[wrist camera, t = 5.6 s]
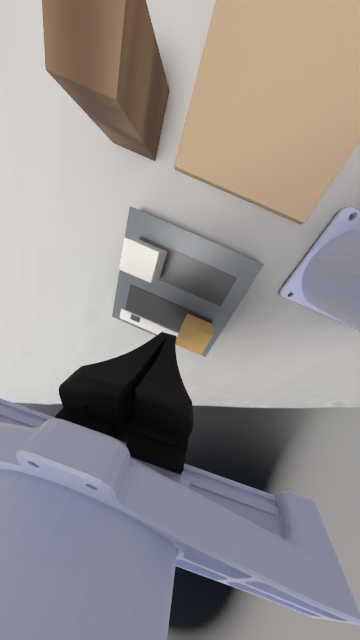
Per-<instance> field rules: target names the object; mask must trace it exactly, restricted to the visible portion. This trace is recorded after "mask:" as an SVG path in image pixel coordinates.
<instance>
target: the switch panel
mask: <svg viewBox="0 0 360 640" xmlns="http://www.w3.org/2000/svg"><path fill="white" fill-rule="evenodd" d="M125 237H127V238H135V239H139V240H142V241H144V242H146V243H149V244H151V245H153V246H156V247H158V248H160V249H163V250H165V251H167V255H166V259H165V262H164V265H163V268H162V272H161V275H160V278H159V279H157V280H155V281H153V282H152V283H150V282H147V281H145V280H143V279H140V278H138V277H136V276H133V275H131V274H129V273H126V272H124V271H122V270H120V272H119V278H118V284H117V290H116V297H115V303H114V309H113V315H112V317H114V318H117V319H119V320H121V321H124V322H126V323H128V324H131V325H133V326H135V327H138V328H140V329H142V330H145V331H147V332H149V333H152V334H154V335H156V336H157V335H158V334H159V333H161V332H164V333H168V334H172V335H175V336H176V337H177V335H178V333H179V330H180V328H181V326H182V324H183V321H184V319H185V317H186V315H187V313H188V314H190V315H193V316H195V317H197V318H200V319H202V320H204V321H207V322H209V323H211V324H212V335H213V336H212V338H211V339H210V341H209V343H208V344H207V346H206V348H205V349H204V351H203V353H202V354H201V355H202V356H205V357H206V355H207V354H208V352H209V350H210V349H211V347H212V346H213V344H214V343H215V341H216V339H217V338H218V336H219V335H220V333H221V331H222V330H223V328H224V327H225V325H226V323H227V322H228V320H229V319H230V317H231V316H232V314H233V312H234V311H235V309H236V308H237V306H238V304H239V303H240V301H241V300H242V298H243V296H244V295H245V293H246V292H247V290H248V289H249V287H250V285H251V284H252V282H253V281H254V279H255V277H256V276H257V274H258V273H259V271H260V269H261V268H262V266H263V265H264V264H263V263H260V262H258V261H256V260H253V259H251V258H249V257H246V256H244V255H242V254H239V253H237V252H235V251H233V250H230V249H228V248H226V247H223V246H221V245H219V244H216V243H214V242H212V241H210V240H207V239H205V238H203V237H200V236H198V235H196V234H193V233H191V232H189V231H186V230H184V229H182V228H180V227H177V226H175V225H173V224H170V223H168V222H166V221H163V220H161V219H159V218H156V217H154V216H152V215H150V214H147V213H145V212H143V211H140V210H138V209H136V208H133V207H131V206H130V209H129V215H128V221H127V228H126V234H125Z"/></svg>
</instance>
